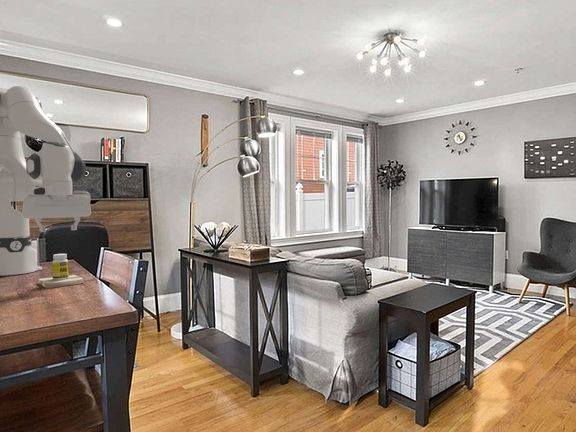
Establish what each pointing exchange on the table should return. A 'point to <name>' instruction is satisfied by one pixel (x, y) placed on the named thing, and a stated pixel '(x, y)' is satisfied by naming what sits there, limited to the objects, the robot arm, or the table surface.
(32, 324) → the table surface
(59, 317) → the table surface
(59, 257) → the supplement bottle
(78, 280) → the ash board
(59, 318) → the table surface
